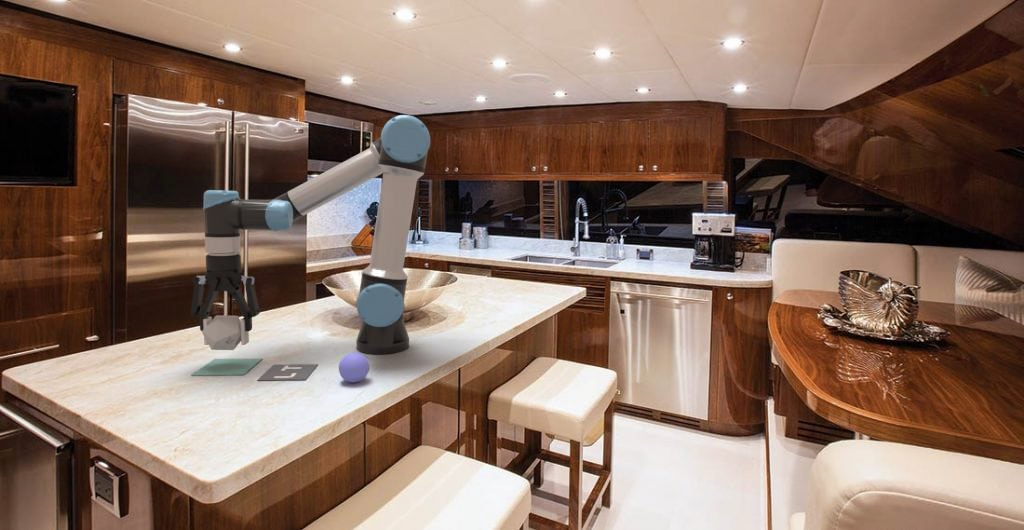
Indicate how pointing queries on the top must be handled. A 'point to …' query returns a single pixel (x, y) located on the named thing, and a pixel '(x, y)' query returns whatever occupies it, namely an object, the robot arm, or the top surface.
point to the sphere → (354, 367)
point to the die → (223, 332)
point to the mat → (227, 367)
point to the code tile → (288, 372)
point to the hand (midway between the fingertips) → (226, 343)
